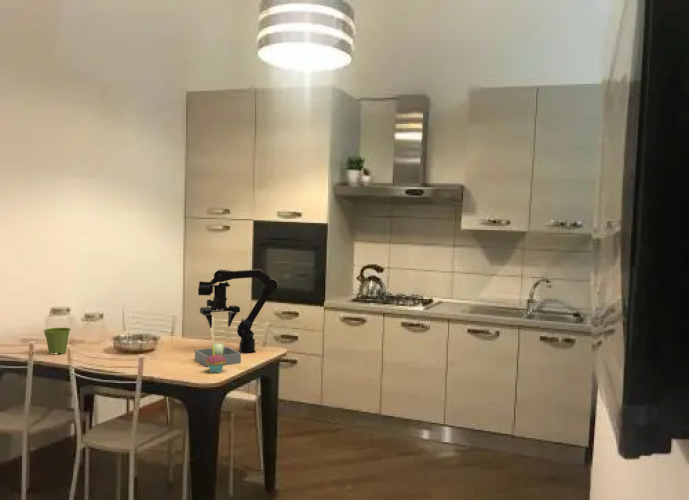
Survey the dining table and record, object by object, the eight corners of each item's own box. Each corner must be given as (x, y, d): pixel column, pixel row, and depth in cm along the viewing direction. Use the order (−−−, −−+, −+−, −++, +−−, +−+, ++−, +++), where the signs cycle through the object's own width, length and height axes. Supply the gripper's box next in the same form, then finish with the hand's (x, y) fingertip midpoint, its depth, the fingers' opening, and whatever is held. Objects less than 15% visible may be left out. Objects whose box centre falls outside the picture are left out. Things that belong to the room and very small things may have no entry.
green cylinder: (220, 357, 287) (221, 342, 287) (224, 359, 283) (224, 344, 283) (210, 358, 285) (210, 343, 284) (214, 360, 280) (214, 345, 280)
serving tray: (227, 356, 295) (228, 346, 295) (240, 363, 281) (240, 353, 281) (194, 359, 287) (194, 350, 286) (206, 367, 273) (206, 356, 273)
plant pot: (45, 351, 299) (45, 327, 298) (72, 350, 302) (72, 327, 301) (41, 356, 287) (41, 332, 287) (68, 355, 291) (68, 331, 290)
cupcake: (215, 374, 260) (216, 346, 259) (201, 371, 264) (201, 343, 264) (230, 370, 267) (230, 343, 267) (215, 368, 272) (215, 340, 271)
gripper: (232, 292, 315) (231, 323, 315) (196, 294, 305) (195, 326, 306) (240, 295, 305) (240, 327, 306) (203, 297, 295) (203, 329, 296)
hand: (219, 327), depth 304 cm, fingers open, 9 cm apart
